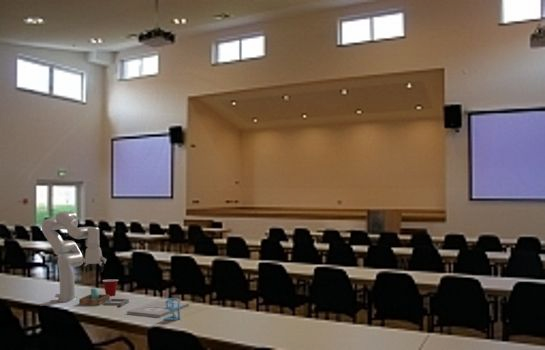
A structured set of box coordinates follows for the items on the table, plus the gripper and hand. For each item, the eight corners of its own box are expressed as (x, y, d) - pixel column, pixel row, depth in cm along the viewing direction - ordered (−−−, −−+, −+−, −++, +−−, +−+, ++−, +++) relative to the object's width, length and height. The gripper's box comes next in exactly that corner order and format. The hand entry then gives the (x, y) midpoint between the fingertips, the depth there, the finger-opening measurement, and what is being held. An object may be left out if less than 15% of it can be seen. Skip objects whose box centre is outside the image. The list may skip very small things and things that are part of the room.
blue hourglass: (174, 321, 299) (173, 300, 299) (163, 319, 303) (162, 299, 303) (183, 318, 305) (182, 297, 305) (172, 316, 310) (172, 296, 310)
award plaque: (188, 306, 336) (188, 303, 336) (160, 318, 309) (160, 314, 309) (157, 303, 346) (157, 300, 346) (127, 314, 319) (126, 311, 319)
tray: (103, 306, 340) (103, 302, 340) (111, 302, 352) (111, 298, 352) (120, 306, 338) (120, 303, 338) (128, 302, 350) (128, 298, 350)
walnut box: (79, 306, 341) (79, 299, 341) (90, 301, 355) (90, 294, 355) (99, 307, 339) (99, 299, 339) (109, 302, 353) (109, 294, 353)
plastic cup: (121, 294, 375) (120, 278, 375) (115, 298, 364) (114, 281, 364) (106, 295, 376) (106, 278, 376) (100, 298, 365) (99, 281, 365)
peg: (89, 303, 345) (89, 289, 345) (93, 301, 350) (93, 288, 350) (96, 303, 345) (96, 289, 345) (99, 301, 349) (99, 288, 349)
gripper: (78, 247, 345) (79, 273, 345) (103, 246, 343) (103, 272, 342) (84, 245, 353) (85, 271, 352) (108, 245, 350) (109, 270, 350)
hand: (94, 272), depth 347 cm, fingers open, 9 cm apart
